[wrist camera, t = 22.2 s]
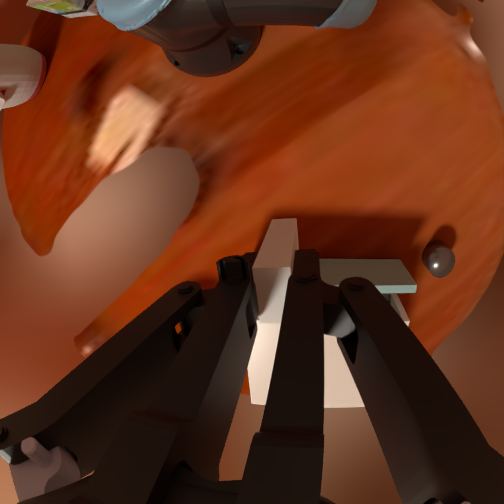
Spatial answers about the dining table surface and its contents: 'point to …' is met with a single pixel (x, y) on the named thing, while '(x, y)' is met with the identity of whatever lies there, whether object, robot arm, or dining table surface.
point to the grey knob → (438, 259)
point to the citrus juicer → (20, 74)
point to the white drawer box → (335, 368)
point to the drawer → (370, 273)
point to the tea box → (66, 7)
